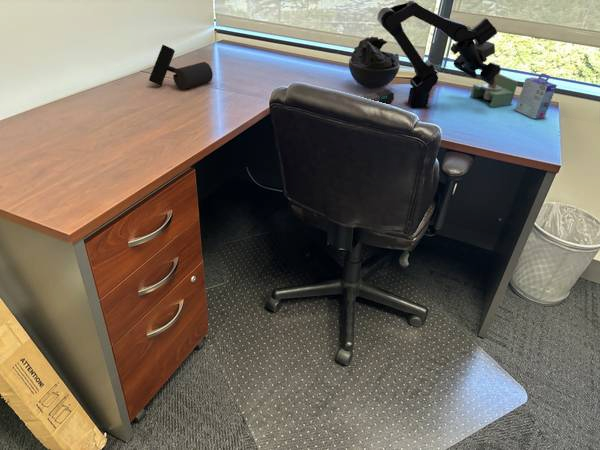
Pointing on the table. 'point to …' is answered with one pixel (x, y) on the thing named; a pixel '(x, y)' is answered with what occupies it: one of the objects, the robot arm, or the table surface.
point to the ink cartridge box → (535, 97)
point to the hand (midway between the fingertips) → (483, 80)
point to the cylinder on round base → (491, 88)
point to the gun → (382, 96)
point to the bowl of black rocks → (373, 64)
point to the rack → (500, 96)
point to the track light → (180, 71)
